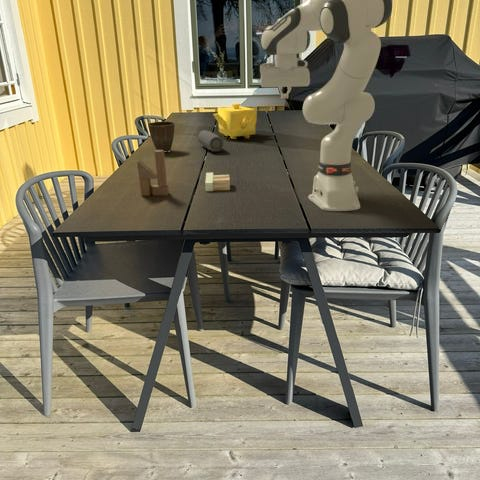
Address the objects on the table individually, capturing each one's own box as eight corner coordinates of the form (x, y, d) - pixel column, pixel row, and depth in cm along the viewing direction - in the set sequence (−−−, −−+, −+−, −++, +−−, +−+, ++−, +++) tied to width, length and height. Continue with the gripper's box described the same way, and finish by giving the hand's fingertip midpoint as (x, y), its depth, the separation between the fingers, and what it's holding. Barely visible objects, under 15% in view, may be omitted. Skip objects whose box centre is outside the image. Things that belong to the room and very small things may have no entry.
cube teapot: (205, 135, 291) (203, 102, 282) (245, 131, 302) (244, 99, 293) (225, 144, 262) (224, 108, 253) (268, 139, 273) (269, 104, 264)
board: (212, 190, 178) (212, 182, 176) (205, 191, 177) (205, 183, 176) (213, 180, 192) (213, 172, 191) (206, 180, 192) (206, 172, 191)
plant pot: (179, 149, 254) (177, 121, 247) (173, 154, 240) (171, 125, 234) (155, 149, 255) (152, 121, 249) (147, 154, 242) (144, 125, 235)
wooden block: (143, 193, 177) (138, 149, 170) (169, 193, 176) (165, 149, 169) (141, 196, 174) (135, 151, 166) (167, 195, 173) (163, 151, 166)
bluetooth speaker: (224, 152, 242) (224, 134, 238) (209, 154, 239) (208, 136, 235) (212, 145, 262) (211, 128, 258) (197, 146, 259) (196, 130, 255)
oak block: (230, 190, 179) (229, 179, 177) (213, 191, 178) (212, 180, 177) (229, 184, 186) (229, 174, 184) (213, 185, 186) (212, 175, 184)
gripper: (260, 63, 170) (260, 99, 176) (311, 62, 171) (310, 98, 176) (259, 62, 176) (259, 98, 182) (308, 61, 177) (307, 96, 182)
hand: (284, 98), depth 179 cm, fingers closed
